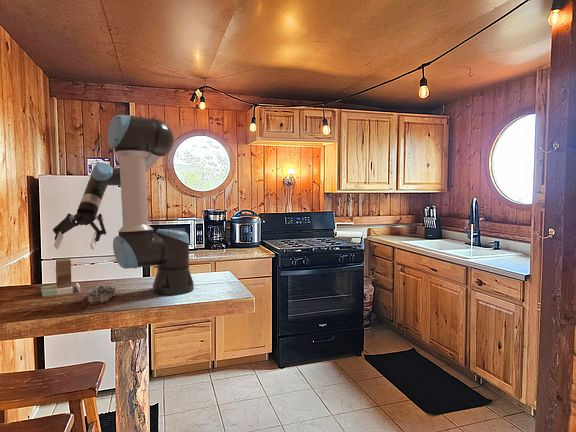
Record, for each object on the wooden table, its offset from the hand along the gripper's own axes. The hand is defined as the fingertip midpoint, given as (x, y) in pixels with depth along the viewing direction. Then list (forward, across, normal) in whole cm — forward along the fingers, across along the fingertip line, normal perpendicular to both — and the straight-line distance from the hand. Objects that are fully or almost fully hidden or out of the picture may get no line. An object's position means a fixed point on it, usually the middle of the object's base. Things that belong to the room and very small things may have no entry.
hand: (74, 247), depth 155 cm
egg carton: (+24, -17, +2) cm, 29 cm away
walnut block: (+16, 0, -2) cm, 16 cm away
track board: (+18, 0, -3) cm, 18 cm away
